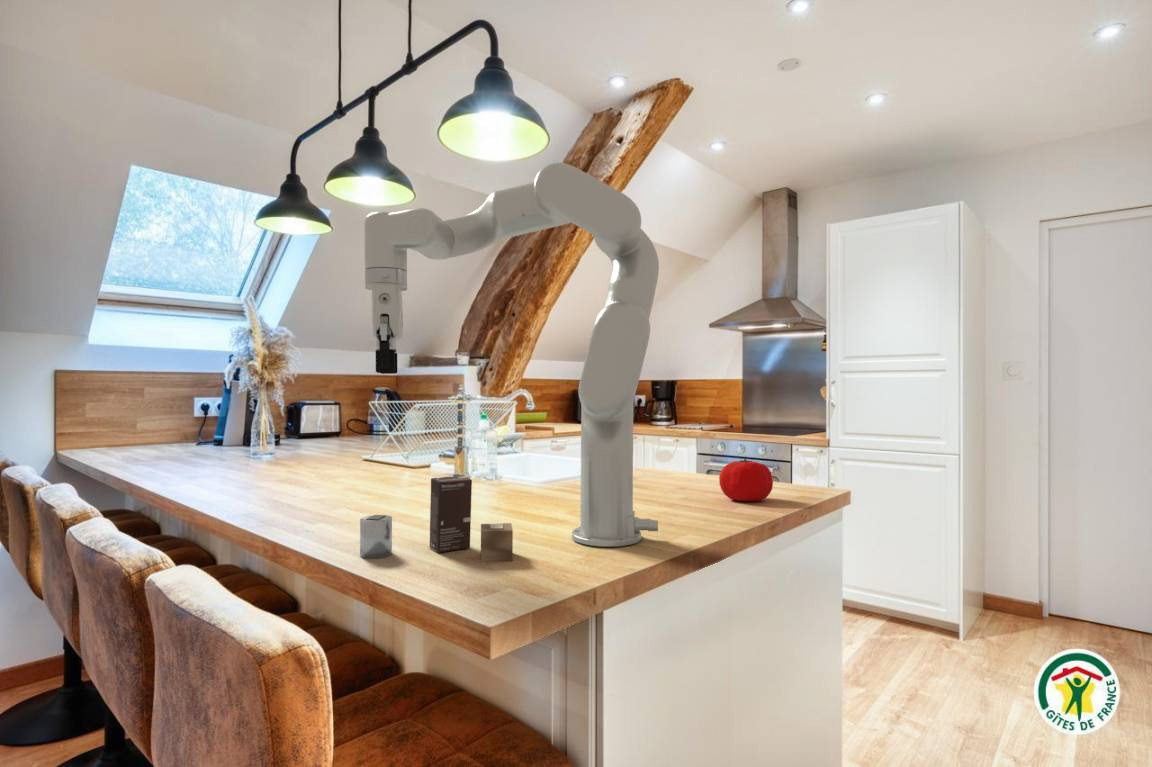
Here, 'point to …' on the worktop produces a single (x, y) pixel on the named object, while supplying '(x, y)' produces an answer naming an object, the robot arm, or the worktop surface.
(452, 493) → the box
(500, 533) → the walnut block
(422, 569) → the worktop surface
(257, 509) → the worktop surface
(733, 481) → the tomato
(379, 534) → the grey tin
